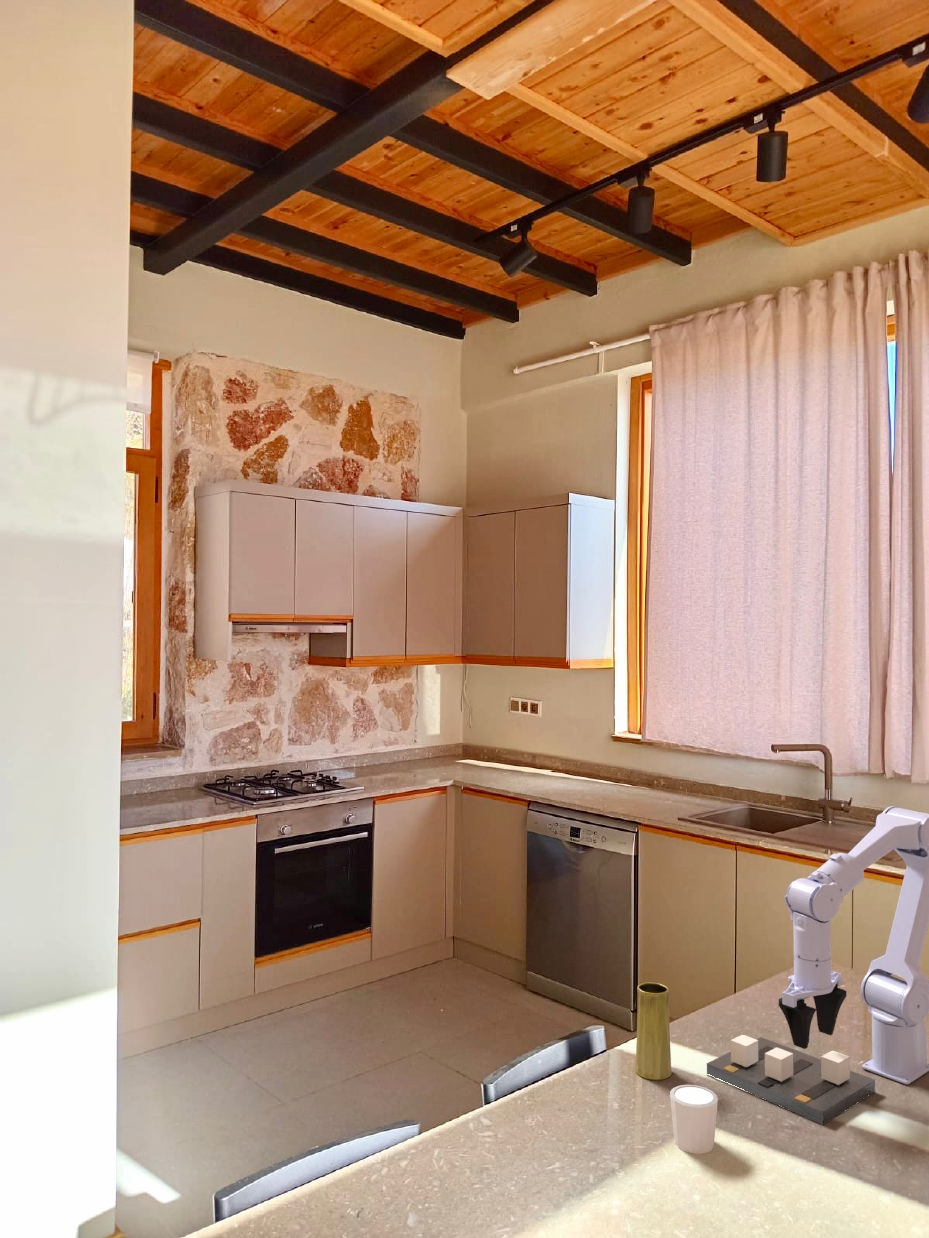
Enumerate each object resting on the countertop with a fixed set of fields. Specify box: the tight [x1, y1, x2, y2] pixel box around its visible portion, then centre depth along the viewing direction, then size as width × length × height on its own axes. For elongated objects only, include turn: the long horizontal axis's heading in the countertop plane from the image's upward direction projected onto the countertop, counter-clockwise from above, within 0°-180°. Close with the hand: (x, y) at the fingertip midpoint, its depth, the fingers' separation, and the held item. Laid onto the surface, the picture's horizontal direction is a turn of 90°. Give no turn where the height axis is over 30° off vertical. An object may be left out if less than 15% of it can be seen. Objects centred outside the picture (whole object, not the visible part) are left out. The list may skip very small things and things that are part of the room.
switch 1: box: [730, 1034, 758, 1067], centre depth 159 cm, size 4×3×4 cm
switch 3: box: [820, 1049, 851, 1085], centre depth 153 cm, size 4×3×4 cm
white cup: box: [669, 1084, 719, 1155], centre depth 138 cm, size 7×7×7 cm
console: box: [706, 1036, 876, 1126], centre depth 156 cm, size 16×21×2 cm
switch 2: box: [765, 1047, 793, 1082], centre depth 154 cm, size 4×3×4 cm
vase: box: [634, 981, 673, 1081], centre depth 160 cm, size 6×6×14 cm
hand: (813, 1039), depth 153 cm, fingers open, 7 cm apart
